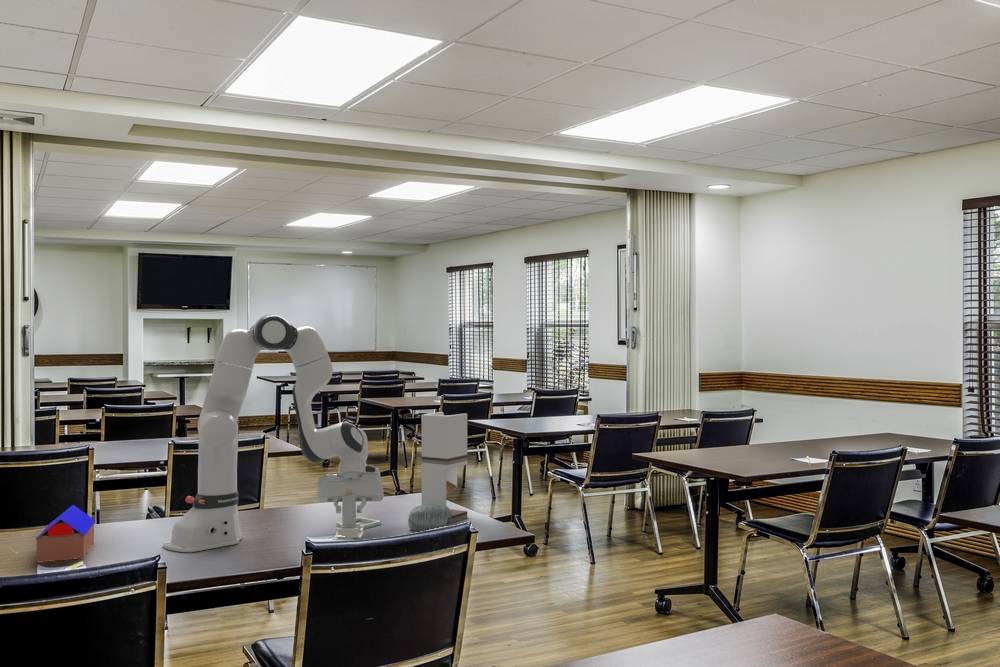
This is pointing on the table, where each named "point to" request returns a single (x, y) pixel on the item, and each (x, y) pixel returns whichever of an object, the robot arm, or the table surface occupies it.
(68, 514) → the house
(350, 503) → the gray bottle
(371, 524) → the tray
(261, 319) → the robot arm
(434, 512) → the grey furry rounded block
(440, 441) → the notched white block
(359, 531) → the white toy chair
